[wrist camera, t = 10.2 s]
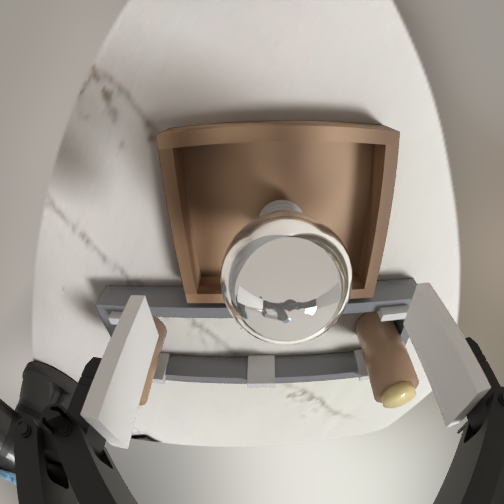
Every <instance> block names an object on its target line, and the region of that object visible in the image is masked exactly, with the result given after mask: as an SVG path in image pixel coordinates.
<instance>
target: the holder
mask: <svg viewBox="0 0 504 504" xmlns="http://www.w3.org/2000/svg"><path fill="white" fill-rule="evenodd" d="M416 286H417V283H416V282H415V280H414V278H412V279H397V280H381V281H377V283H376V287H375V291H374V295H373V297H371V298H356V299H349V301H348V303H347V305H346V307H345V310H344V312H343V314H350V313H363V312H375V311H377V313H378V315H379V317H380V320H381V321H390V320H394V321H395V323H396V326H397V328H398V330H399V333H400V335H401V337H402V340H403V342H404V344H405V345H406V343H407V340H408V338H409V335H408V333H407V331H406V329H405V327H404V325H403V323H404V321H405V318H406V315H407V312H408V310H409V307H410V304H411V301H412V298H413V295H414V292H415V289H416ZM131 295H145V297H146V300H147V303H148V306H149V309H150V312H151V315H152V317H182V318H233V316H232V315H231V313H230V312H229V310H228V309H227V307H226V304H225V303H187V299H186V295H185V291H184V287H183V286H106V288H105V289H104V291H103V292H102V294H101V296H100V297H99V299H98V301H97V302H96V304H95V305H96V307H97V309H98V312H99V314H100V316H101V318H102V320H103V322H104V324H105V326H106V328H107V330H108V332H109V334H110V336H111V337H112V334H113V332H114V330H115V328H116V326H117V323H118V321H119V319H120V317H121V315H122V313H123V310H124V308H125V306H126V304H127V302H128V300H129V298H130V296H131ZM241 329H243V328H242V327H241ZM354 377H359V381H360V380H368V379H369V375H368V372H367V368H366V364H365V361H364V357H363V354H362V350H361V349H358V350H354V352H346V353H334V354H321V355H305V356H283V357H274V355H248V357H200V356H178V355H170V353H160V357H159V360H158V363H157V367H156V370H155V374H154V377H153V381H152V382H154V383H165V380H172V381H185V382H202V383H231V384H247V387H275V383H294V382H311V381H324V380H336V379H346V378H354Z"/></svg>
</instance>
